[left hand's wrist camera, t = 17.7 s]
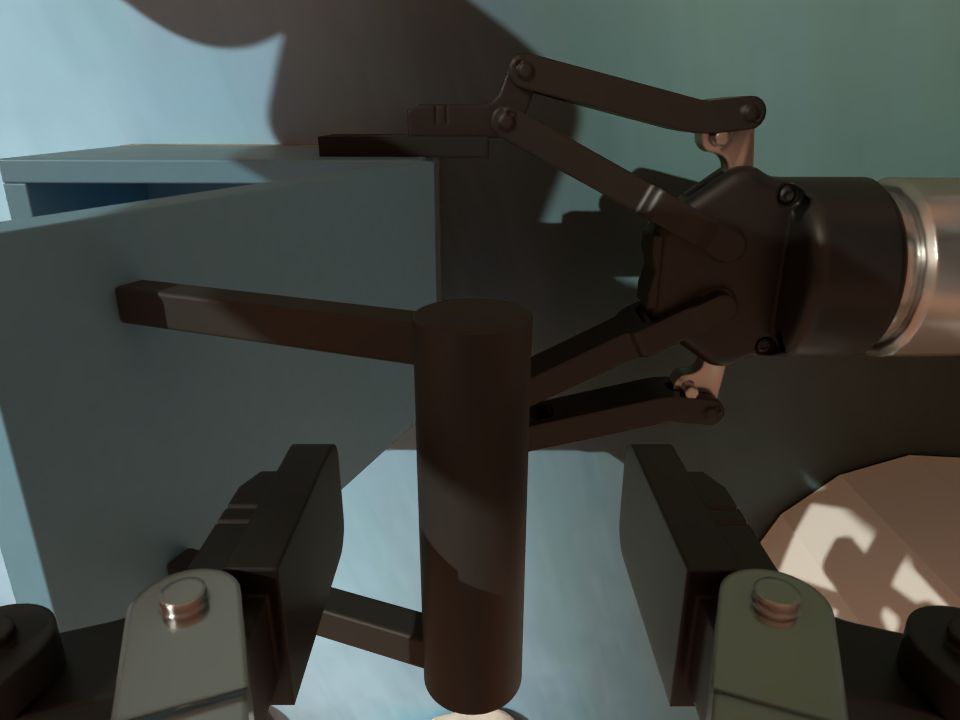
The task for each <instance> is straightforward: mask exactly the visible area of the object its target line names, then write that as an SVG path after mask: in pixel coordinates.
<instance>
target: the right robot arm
mask: <svg viewBox="0 0 960 720" xmlns="http://www.w3.org/2000/svg"><path fill="white" fill-rule="evenodd" d="M533 93H534V94H538V95H542V96H546V97H549V98H553V99H557V100H561V101H565V102H568V103H572V104H576V105H580V106H583V107H587V108H591V109H595V110H598V111H602V112H606V113H610V114H613V115H617V116H621V117H625V118H628V119H632V120H636V121H640V122H643V123H647V124H651V125H655V126H659V127H662V128H666V129H671V130H676V131H683V132H691V133H695V143H696V145H697V147H698V148H699V149H701V150H702V151H706V152H711V153H714V154H716V155H717V157H718V158H719V160H720V162H721V168H719V169H718V170H716V171H715V172H713V173H712V174H710V175H709V176H707V177H706V178H704V179H703V180H702V181H700V182H699V183H697V184H696V185H694V186H693V187H691V188H690V189H688V190H687V191H685V192H684V193H683V194H681V195H680V196H678V197H677V198H676V197H674V196H672V195H671V194H669V193H667V192H665V191H663V190H662V189H660V188H658V187H656V186H654V185H652V184H650V183H649V182H647V181H645V180H643V179H641V178H640V177H638V176H636V175H634V174H633V173H631V172H629V171H627V170H625V169H624V168H622V167H620V166H618V165H617V164H615V163H613V162H611V161H609V160H608V159H606V158H604V157H602V156H600V155H599V154H597V153H595V152H593V151H592V150H590V149H588V148H586V147H584V146H583V145H581V144H579V143H577V142H576V141H574V140H572V139H570V138H568V137H567V136H565V135H563V134H561V133H559V132H558V131H556V130H554V129H552V128H551V127H549V126H547V125H545V124H543V123H542V122H540V121H538V120H536V119H534V118H533V117H531V116H529V115H527V114H526V111H527V108H528V106H529V103H530V100H531V98H532V95H533ZM407 113H408V134H331V135H325V136H320V137H318V144H319V157H425V158H489V138H502V139H504V140H506V141H508V142H510V143H511V144H513V145H515V146H517V147H519V148H520V149H522V150H524V151H526V152H528V153H529V154H531V155H533V156H535V157H537V158H539V159H540V160H542V161H544V162H546V163H548V164H549V165H551V166H553V167H555V168H557V169H559V170H560V171H562V172H564V173H566V174H568V175H569V176H571V177H573V178H575V179H577V180H579V181H580V182H582V183H584V184H586V185H588V186H589V187H591V188H593V189H595V190H597V191H598V192H600V193H602V194H604V195H606V196H608V197H609V198H611V199H613V200H615V201H617V202H618V203H620V204H622V205H624V206H626V207H628V208H629V209H631V210H633V211H635V212H637V213H638V214H640V215H642V216H643V217H645V218H647V219H649V220H650V221H649V223H648V225H647V228H643V232H642V244H641V246H642V251H643V256H644V266H643V269H642V272H641V275H640V277H639V280H638V292H637V298H638V299H639V300H640V301H639V302H636V303H634V304H632V305H630V306H628V307H626V308H624V309H622V310H621V311H620V312H619V313H618V314H617V315H616V316H615V317H614V318H612V319H610V320H607V321H605V322H603V323H601V324H599V325H597V326H595V327H593V328H591V329H589V330H587V331H584V332H582V333H580V334H578V335H576V336H574V337H572V338H570V339H568V340H566V341H564V342H562V343H559V344H557V345H555V346H553V347H551V348H549V349H547V350H545V351H543V352H541V353H539V354H536V355H534V356H532V357H531V378H530V411H529V444H528V451H533V450H538V449H542V448H547V447H552V446H556V445H561V444H566V443H570V442H575V441H580V440H585V439H589V438H594V437H599V436H603V435H608V434H613V433H617V432H622V431H627V430H631V429H636V428H641V427H645V426H650V425H655V424H660V423H664V422H669V421H674V422H684V423H693V424H703V425H713V424H715V423H718V422H719V421H720V420H721V419H722V417H723V415H724V408H723V405H722V404H721V403H720V401H719V400H718V394H719V390H720V386H721V382H722V378H723V374H724V370H725V366H726V365H730V364H733V363H735V362H737V361H739V360H741V359H743V358H746V357H749V356H754V355H765V356H856V355H859V354H861V353H865V354H866V355H870V356H874V357H926V356H960V178H910V177H894V178H884V179H882V180H879V181H875V180H873V179H871V178H867V177H773V176H769V175H767V174H765V173H763V172H762V171H760V170H759V169H757V168H755V167H753V156H754V128H756V127H757V126H759V125H760V124H761V123H762V121H763V120H764V118H765V115H766V106H765V104H764V102H763V100H762V99H760V98H758V97H756V96H737V97H723V98H714V99H705V100H700V99H696V98H692V97H689V96H685V95H681V94H678V93H674V92H670V91H667V90H663V89H659V88H655V87H652V86H648V85H644V84H641V83H637V82H633V81H630V80H626V79H622V78H618V77H615V76H611V75H607V74H604V73H600V72H596V71H593V70H589V69H585V68H582V67H578V66H574V65H570V64H567V63H563V62H559V61H556V60H552V59H548V58H545V57H541V56H537V55H533V54H530V53H522V54H519V55H517V56H516V57H515V58H514V59H513V60H512V61H511V63H510V64H509V66H508V69H507V72H506V75H505V77H504V80H503V83H502V86H501V89H500V92H499V94H498V96H497V97H496V98H495V99H494V100H493V101H492V102H490V103H488V104H483V105H418V106H416V107H414V108H411V109H409V110H407ZM677 343H680V344H682V345H683V346H684V347H686V348H687V349H688V350H690V351H691V352H692V353H694V354H695V355H696V356H698V357H697V360H696V361H695V362H694V363H693V364H692V365H690V366H688V367H683V368H677V369H674V370H673V372H672V374H671V375H670V377H652V378H646V379H641V380H636V381H632V382H627V383H622V384H618V385H613V386H609V387H604V388H600V389H595V390H591V391H586V392H581V393H577V394H572V395H568V396H563V397H559V398H554V399H550V400H545V399H547V398H549V397H552V396H554V395H556V394H558V393H560V392H562V391H564V390H567V389H569V388H571V387H573V386H575V385H577V384H580V383H582V382H584V381H586V380H588V379H590V378H592V377H595V376H597V375H599V374H601V373H603V372H605V371H607V370H610V369H612V368H614V367H616V366H618V365H620V364H622V363H625V362H627V361H629V360H631V359H633V358H636V357H647V356H650V355H653V354H655V353H657V352H660V351H662V350H664V349H666V348H668V347H670V346H672V345H675V344H677ZM543 400H545V401H543Z"/></svg>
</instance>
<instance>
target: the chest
mask: <svg viewBox="0 0 960 720" xmlns="http://www.w3.org/2000/svg"><path fill="white" fill-rule="evenodd" d="M405 161H428V162H434V201H435V250H436V299H437V302H440V301H442V283H441V226H440V169H439V158H425V157H319V145H172V144H130V145H121V146H115V147H106V148H97V149H87V150H78V151H69V152H59V153H50V154H40V155H31V156H22V157H12V158H3V159H0V171H1V175H2V179H3V182H4V183H5V184H4V189H5V193H6V197H7V202H8V206H9V210H10V215H11V219H12V220H16V219H23V218H30V217H36V216H43V215H50V214H56V213H63V212H70V211H77V210H83V209H90V208H97V207H103V206H110V205H117V204H123V203H130V202H137V201H144V200H150V199H157V198H164V197H170V196H177V195H184V194H190V193H197V192H204V191H211V190H217V189H224V188H231V187H237V186H244V185H251V184H258V183H264V182H271V181H278V180H284V179H291V178H298V177H304V176H311V175H318V174H325V173H331V172H338V171H345V170H351V169H358V168H365V167H371V166H378V165H385V164H392V163H398V162H405Z"/></svg>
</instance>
